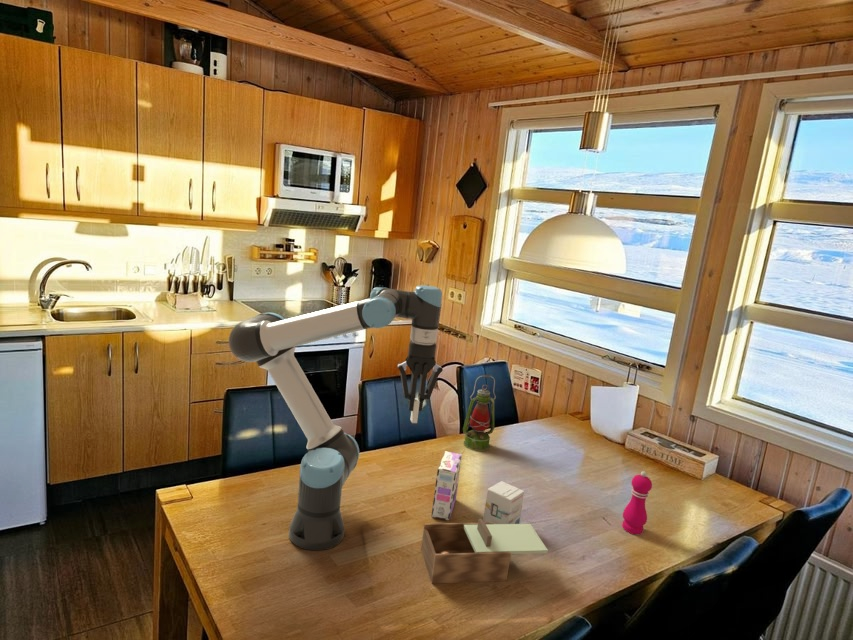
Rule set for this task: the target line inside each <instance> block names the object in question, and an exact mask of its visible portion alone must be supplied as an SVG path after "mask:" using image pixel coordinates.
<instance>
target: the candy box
mask: <svg viewBox="0 0 853 640" xmlns="http://www.w3.org/2000/svg"><path fill="white" fill-rule="evenodd" d="M462 456H463V454H462V453H457V452H453V451H446V450H445V451H444V454H443V456H442V458H441V460H440V462H439V466H438V468H437V472H436V473H437V474H436V479H435V487H434V494H433V500H432V501H433V503H432V510H431V517H432V518H435V519H440V520H443V521H448V522H449V521H450V520H451V516H452V513H453V509H454V507H455V503H456V500H457V493H458V488H459V487H458V485H459V481H460V480H459V478H460V471H461V463H462Z"/></svg>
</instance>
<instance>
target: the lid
mask: <svg viewBox="0 0 853 640" xmlns="http://www.w3.org/2000/svg"><path fill="white" fill-rule="evenodd" d="M477 523H478V525H464V527H463V528H464V530H465V532H466V534H467V536H468V539H469V541H470V543H471V545H472V547H473V549H474V551H475V553H485V552H511V555H534V554H535V555H536V554H548V553H549V550H548V548H547V546H546V545H545V544H544V542H543V541H542V539H541V538H540V536H539V535H538V534H537V532H536V530H535V529H534V528H533V526H532V524H531V523H519V524H485V523H486V522H484V520H483V518H478V520H477Z"/></svg>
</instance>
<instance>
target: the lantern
mask: <svg viewBox="0 0 853 640" xmlns="http://www.w3.org/2000/svg"><path fill="white" fill-rule="evenodd" d="M481 377H482V378H492V379H493V390H492V391H493V392H492V393H493V396H494V397H491V392H490V390H488V385H487V384H483V385H482V387H481V389H478V390H477V393H476V396H475V397H473V395H474V394H475V391H476V385H477V382H478V379H479V378H481ZM484 386H486V388H484ZM495 387H496V380H495V378H494V377H493V376H492V375H491V374H483V375H480V376H478V377H477V378H476V379H475V382H474V387H473V392H472V394H471V395H470V396H469V398H470V403H469V405H468V408H467V412H466V416H465V419H464V424H463V427H462V432H463V434H464V440H463V443H462V444H463V446H464V447H465V448H466V449H469V450H471V451H473V452H474V451H475V452H485V451H488V450H489V449H490V439H491V437H490V434H492V433H493V431H494V430H495V400H496V398H497V397H496V394H495ZM472 397H473V398H472ZM475 402H477V403H476V404H475ZM474 404H475V406H474ZM488 404H490V409H489V406H488ZM473 406H474V407H473ZM473 408H474V409H473ZM489 411H490V412H489ZM469 427H471V428H472V429H471V430H469ZM489 428H490V429H489ZM488 429H489V430H488ZM486 430H487V431H486Z"/></svg>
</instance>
